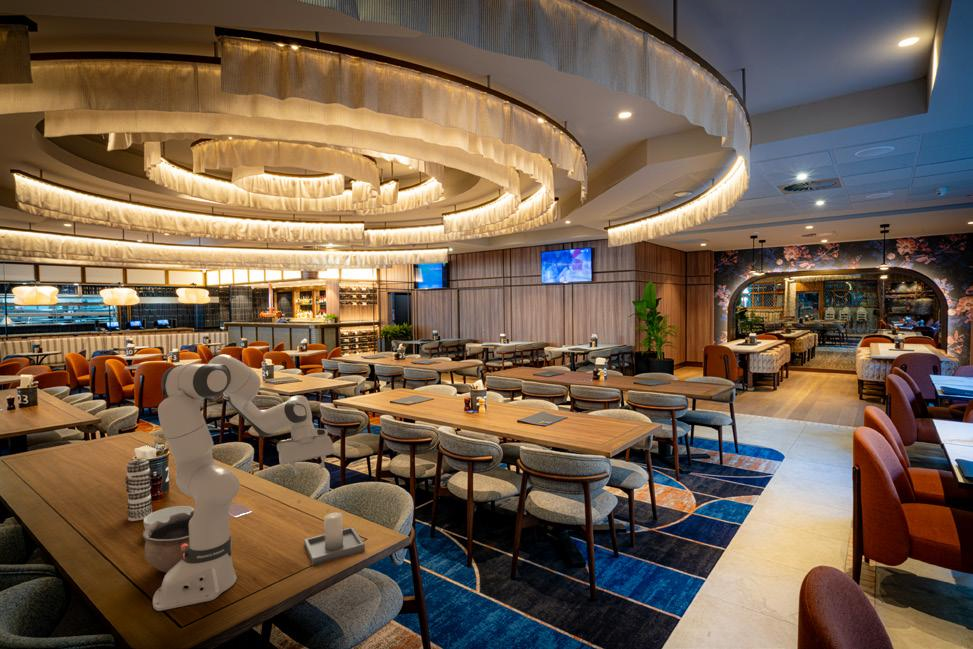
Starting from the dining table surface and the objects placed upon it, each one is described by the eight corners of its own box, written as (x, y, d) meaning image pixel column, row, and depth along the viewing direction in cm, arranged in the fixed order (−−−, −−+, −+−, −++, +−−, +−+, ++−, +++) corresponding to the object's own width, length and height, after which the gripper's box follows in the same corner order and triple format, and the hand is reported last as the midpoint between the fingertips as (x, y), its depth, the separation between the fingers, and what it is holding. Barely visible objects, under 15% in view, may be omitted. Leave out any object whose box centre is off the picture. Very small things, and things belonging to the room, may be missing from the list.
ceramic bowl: (207, 543, 177) (205, 504, 176) (231, 562, 163) (229, 520, 163) (136, 569, 160) (134, 526, 159) (156, 592, 146) (154, 545, 145)
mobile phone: (235, 516, 198) (219, 508, 207) (235, 519, 198) (220, 510, 207) (253, 510, 204) (237, 502, 213) (253, 512, 204) (237, 504, 213)
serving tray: (312, 565, 160) (312, 558, 160) (304, 545, 173) (304, 539, 173) (364, 550, 169) (364, 543, 169) (352, 533, 183) (352, 526, 183)
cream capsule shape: (327, 551, 167) (326, 521, 166) (323, 544, 172) (322, 515, 172) (345, 547, 170) (344, 517, 170) (340, 539, 175) (339, 511, 175)
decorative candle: (158, 511, 206) (156, 456, 205) (141, 521, 197) (138, 463, 196) (139, 511, 207) (137, 456, 206) (121, 521, 198) (118, 462, 197)
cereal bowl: (169, 543, 177) (168, 525, 177) (133, 540, 181) (132, 522, 181) (204, 523, 194) (203, 506, 194) (170, 520, 197) (170, 503, 197)
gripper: (277, 439, 176) (283, 475, 171) (331, 429, 188) (338, 462, 184) (274, 443, 180) (280, 479, 176) (326, 433, 193) (333, 466, 188)
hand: (310, 470), depth 180 cm, fingers open, 8 cm apart
